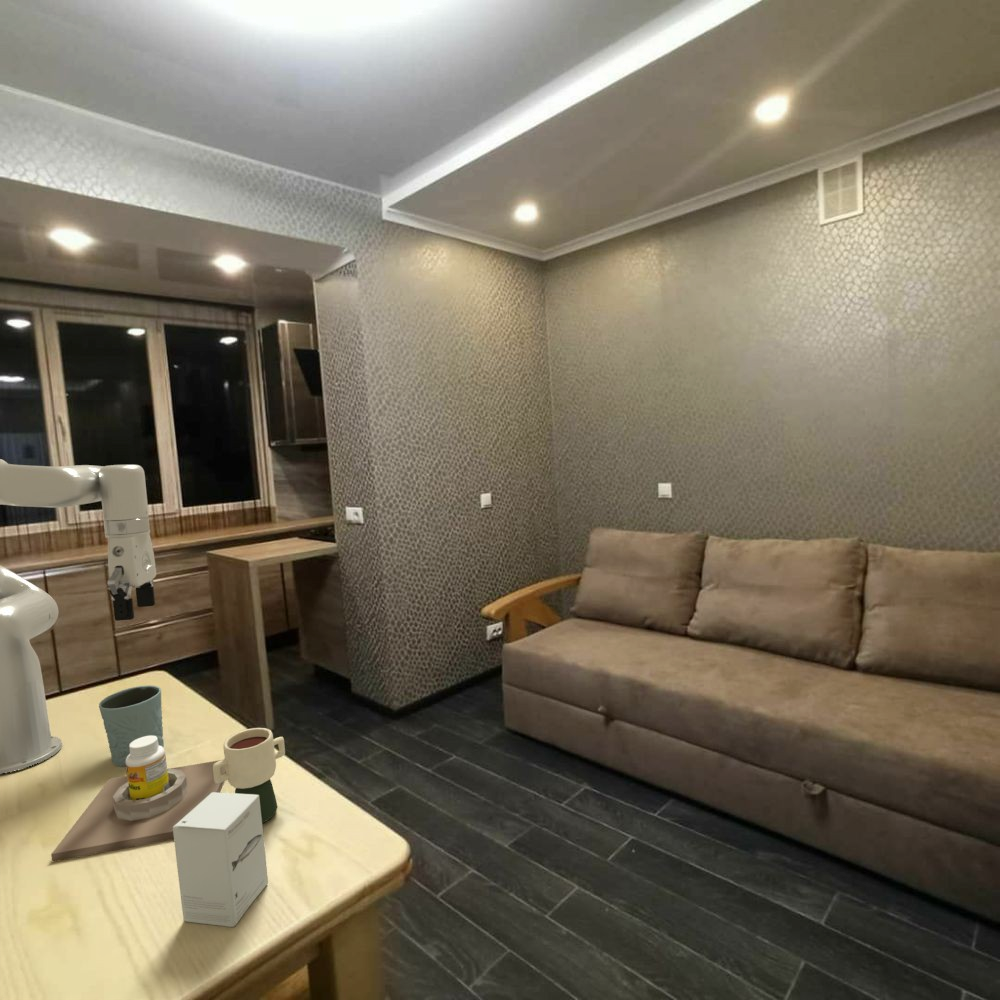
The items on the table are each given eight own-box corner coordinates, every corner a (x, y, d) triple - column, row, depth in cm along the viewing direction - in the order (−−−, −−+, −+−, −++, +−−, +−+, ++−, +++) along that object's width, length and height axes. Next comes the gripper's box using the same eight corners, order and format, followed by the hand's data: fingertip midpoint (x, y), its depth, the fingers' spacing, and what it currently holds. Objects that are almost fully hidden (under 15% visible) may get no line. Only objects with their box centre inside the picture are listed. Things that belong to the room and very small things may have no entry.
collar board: (52, 861, 85) (48, 837, 84) (110, 784, 104) (108, 765, 104) (202, 833, 89) (199, 810, 89) (231, 764, 108) (229, 745, 108)
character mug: (280, 792, 98) (273, 718, 97) (299, 809, 93) (292, 731, 92) (212, 824, 91) (203, 744, 90) (229, 845, 86) (219, 761, 84)
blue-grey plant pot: (172, 737, 120) (166, 681, 119) (161, 762, 111) (154, 701, 110) (116, 748, 117) (108, 691, 116) (99, 775, 108) (90, 712, 106)
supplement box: (235, 929, 71) (223, 830, 69) (181, 922, 72) (169, 826, 71) (270, 883, 78) (261, 793, 76) (221, 878, 79) (211, 789, 78)
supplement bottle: (126, 803, 96) (117, 743, 95) (162, 786, 100) (155, 729, 99) (138, 815, 92) (130, 753, 91) (176, 797, 97) (168, 738, 96)
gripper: (128, 532, 107) (137, 623, 109) (165, 521, 124) (172, 600, 126) (83, 535, 106) (93, 627, 108) (126, 523, 123) (134, 602, 125)
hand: (136, 612), depth 117 cm, fingers open, 9 cm apart
